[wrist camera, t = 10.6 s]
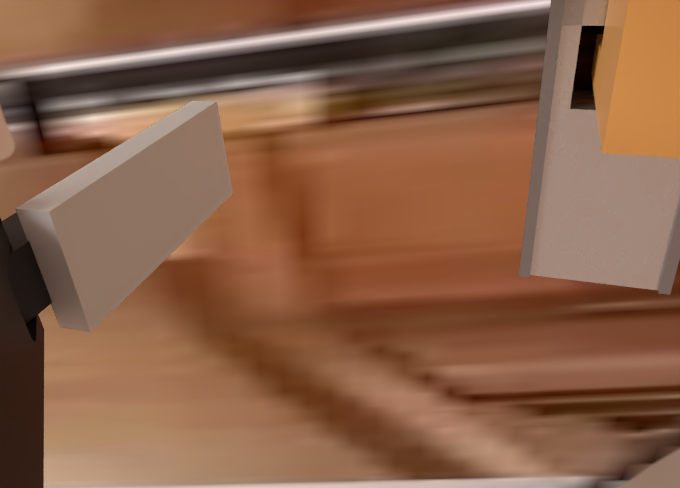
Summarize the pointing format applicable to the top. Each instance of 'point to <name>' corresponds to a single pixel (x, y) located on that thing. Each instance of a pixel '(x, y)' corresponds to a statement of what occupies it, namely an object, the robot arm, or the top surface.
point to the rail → (594, 182)
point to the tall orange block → (639, 78)
